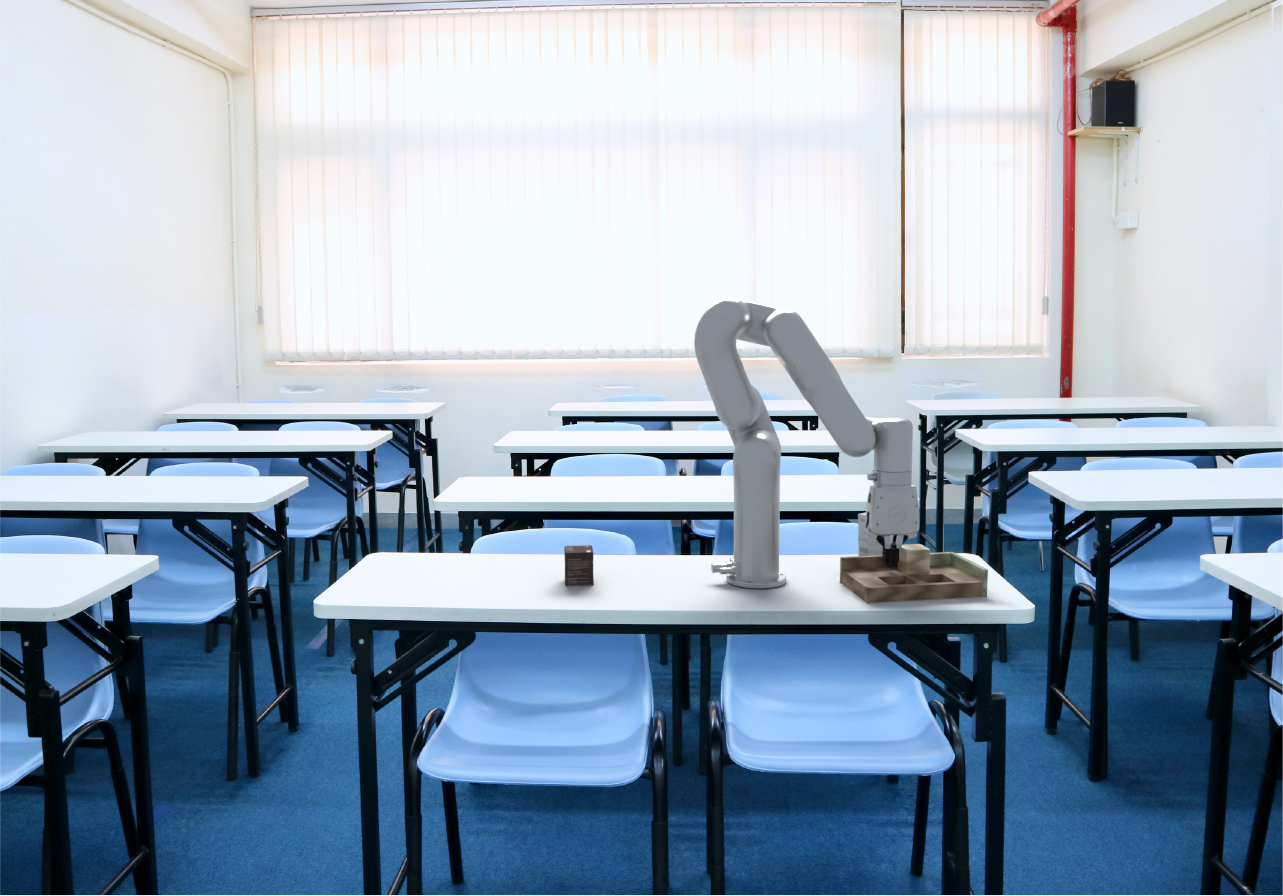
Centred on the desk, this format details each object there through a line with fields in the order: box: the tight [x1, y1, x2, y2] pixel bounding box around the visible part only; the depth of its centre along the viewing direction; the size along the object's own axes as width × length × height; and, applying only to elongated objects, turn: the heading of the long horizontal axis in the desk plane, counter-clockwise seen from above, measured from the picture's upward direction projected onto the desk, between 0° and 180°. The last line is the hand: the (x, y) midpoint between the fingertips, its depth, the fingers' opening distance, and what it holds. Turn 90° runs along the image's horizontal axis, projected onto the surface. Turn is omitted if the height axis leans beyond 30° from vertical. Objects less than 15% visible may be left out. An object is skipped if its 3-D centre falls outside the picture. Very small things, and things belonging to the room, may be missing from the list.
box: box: [563, 544, 595, 587], centre depth 205 cm, size 6×6×7 cm
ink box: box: [857, 512, 892, 556], centre depth 215 cm, size 9×5×12 cm, turn 34°
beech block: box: [897, 543, 931, 574], centre depth 201 cm, size 5×5×5 cm
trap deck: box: [839, 551, 989, 604], centre depth 198 cm, size 25×15×6 cm, turn 98°
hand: (890, 566), depth 200 cm, fingers closed
